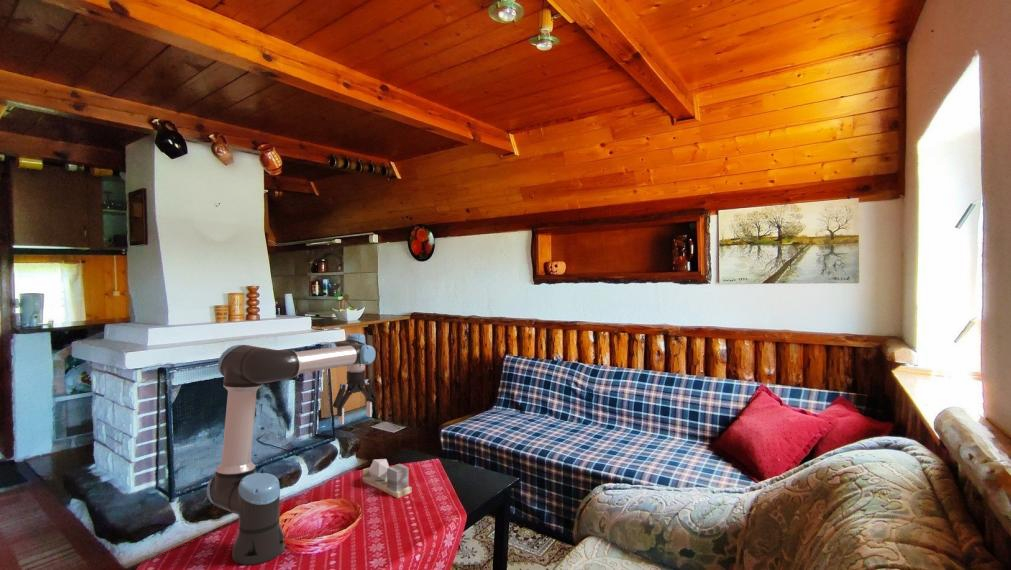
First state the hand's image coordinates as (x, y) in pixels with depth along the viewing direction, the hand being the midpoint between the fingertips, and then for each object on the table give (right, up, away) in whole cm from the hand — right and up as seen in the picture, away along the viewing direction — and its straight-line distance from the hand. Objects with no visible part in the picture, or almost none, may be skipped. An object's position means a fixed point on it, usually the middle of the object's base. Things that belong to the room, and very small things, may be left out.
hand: (355, 420), depth 210 cm
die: (+11, -25, -1) cm, 27 cm away
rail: (+14, -27, -3) cm, 31 cm away
